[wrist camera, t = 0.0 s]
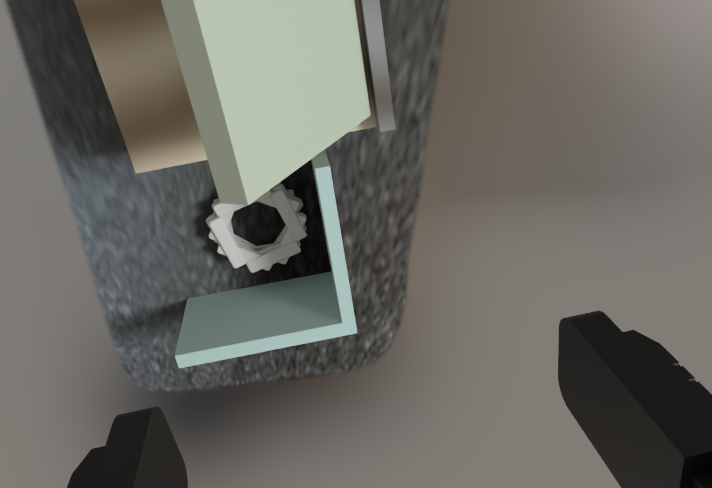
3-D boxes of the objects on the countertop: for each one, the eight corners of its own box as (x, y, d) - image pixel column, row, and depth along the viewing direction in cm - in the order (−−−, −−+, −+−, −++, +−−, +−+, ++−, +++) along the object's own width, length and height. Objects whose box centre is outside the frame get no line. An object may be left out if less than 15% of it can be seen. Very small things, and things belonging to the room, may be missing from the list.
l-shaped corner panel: (318, 130, 39) (329, 166, 33) (343, 277, 45) (357, 332, 38) (144, 160, 38) (119, 203, 32) (191, 306, 44) (179, 368, 37)
